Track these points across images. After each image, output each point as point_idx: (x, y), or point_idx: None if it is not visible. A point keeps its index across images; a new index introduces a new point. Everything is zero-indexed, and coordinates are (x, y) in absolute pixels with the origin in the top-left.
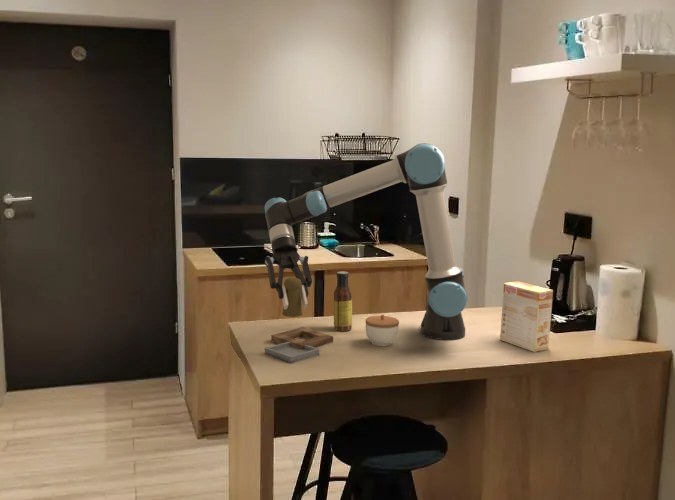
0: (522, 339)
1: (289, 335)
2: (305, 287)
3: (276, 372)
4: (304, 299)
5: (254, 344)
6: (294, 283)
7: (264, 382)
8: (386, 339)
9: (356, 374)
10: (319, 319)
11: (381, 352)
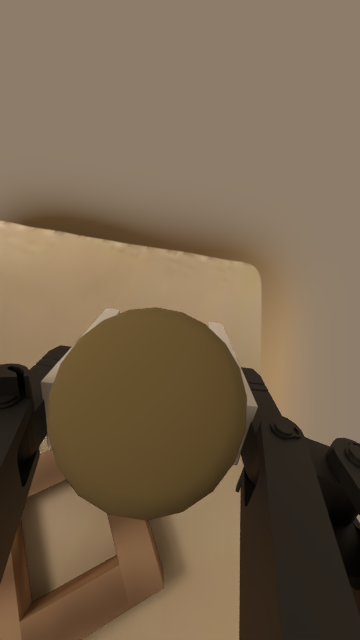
0: None
1: (95, 575)
2: (33, 385)
3: (225, 308)
4: None
5: (224, 549)
6: (171, 310)
7: (257, 273)
8: None
9: (88, 246)
10: None
11: None
